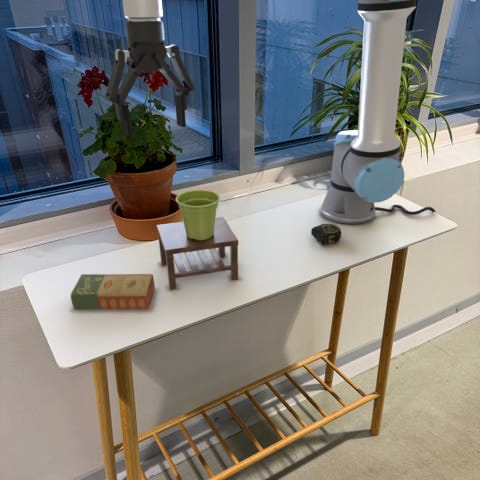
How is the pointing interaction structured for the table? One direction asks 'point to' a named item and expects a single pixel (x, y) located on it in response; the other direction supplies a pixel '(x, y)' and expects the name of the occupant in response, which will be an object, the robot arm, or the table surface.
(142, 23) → the robot arm
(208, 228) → the plant pot
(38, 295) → the table surface
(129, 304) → the carton
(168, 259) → the coffee table
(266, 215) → the table surface
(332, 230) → the tape measure
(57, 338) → the table surface
